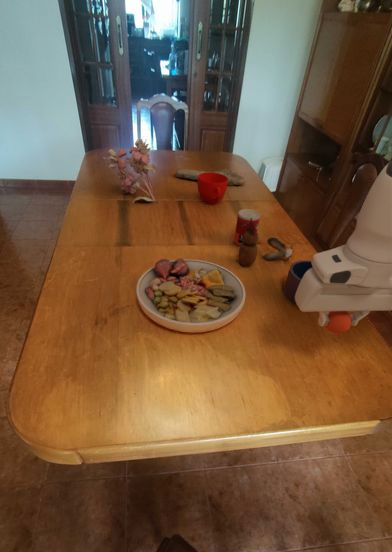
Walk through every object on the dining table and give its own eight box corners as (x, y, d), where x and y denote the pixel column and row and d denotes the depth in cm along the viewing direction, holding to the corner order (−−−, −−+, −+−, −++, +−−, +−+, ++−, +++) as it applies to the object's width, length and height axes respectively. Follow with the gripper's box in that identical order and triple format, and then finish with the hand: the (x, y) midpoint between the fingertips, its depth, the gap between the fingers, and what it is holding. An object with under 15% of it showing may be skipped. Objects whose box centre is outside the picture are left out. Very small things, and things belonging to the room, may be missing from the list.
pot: (316, 282, 102) (325, 260, 96) (330, 307, 93) (341, 285, 88) (278, 282, 101) (285, 260, 95) (289, 307, 92) (297, 284, 86)
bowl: (263, 305, 92) (269, 283, 86) (189, 357, 76) (191, 333, 71) (191, 262, 105) (192, 240, 100) (115, 298, 90) (112, 275, 84)
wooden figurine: (236, 257, 109) (243, 214, 99) (252, 259, 110) (262, 216, 99) (237, 268, 105) (245, 224, 94) (254, 269, 105) (264, 226, 94)
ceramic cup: (202, 212, 133) (204, 187, 126) (193, 196, 144) (194, 172, 137) (231, 211, 136) (235, 186, 129) (220, 195, 147) (223, 172, 140)
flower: (169, 185, 147) (143, 125, 131) (173, 200, 130) (144, 133, 114) (131, 204, 150) (101, 149, 134) (131, 221, 134) (96, 159, 117)
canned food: (237, 249, 114) (242, 219, 106) (230, 238, 119) (235, 208, 111) (257, 248, 115) (263, 218, 107) (250, 237, 120) (255, 208, 112)
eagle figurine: (288, 249, 114) (264, 242, 113) (297, 239, 107) (272, 231, 106) (284, 268, 112) (260, 261, 111) (293, 260, 105) (268, 252, 104)
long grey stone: (178, 175, 165) (173, 183, 159) (177, 164, 161) (173, 171, 155) (245, 180, 161) (243, 188, 155) (246, 169, 157) (245, 176, 151)
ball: (340, 322, 68) (349, 303, 64) (349, 338, 65) (360, 320, 61) (317, 322, 68) (326, 303, 64) (326, 338, 64) (335, 320, 61)
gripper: (411, 255, 58) (376, 313, 68) (304, 254, 56) (284, 314, 66) (432, 274, 54) (391, 333, 64) (316, 275, 52) (293, 335, 62)
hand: (336, 323), depth 65 cm, fingers closed on ball, 5 cm apart
